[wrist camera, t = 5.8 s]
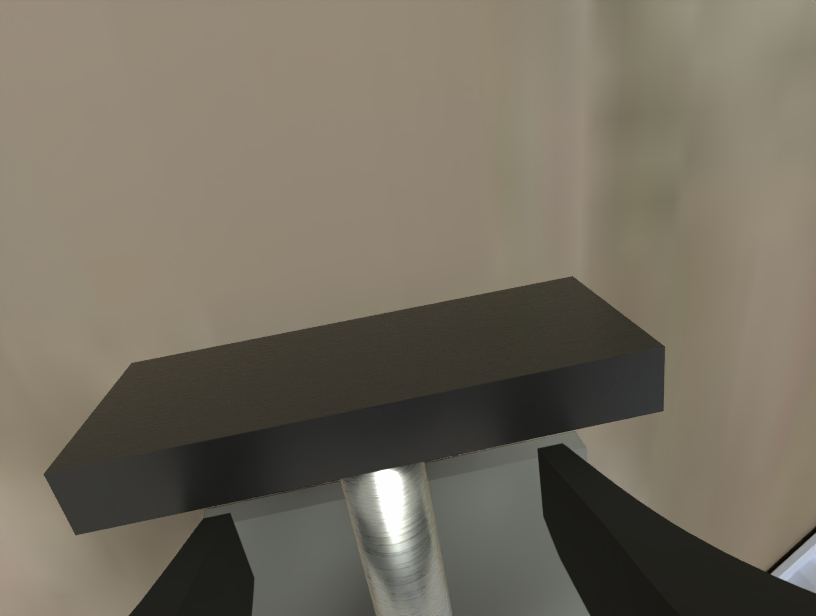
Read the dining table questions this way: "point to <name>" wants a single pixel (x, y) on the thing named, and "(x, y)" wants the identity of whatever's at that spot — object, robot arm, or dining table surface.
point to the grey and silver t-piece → (359, 418)
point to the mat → (457, 531)
